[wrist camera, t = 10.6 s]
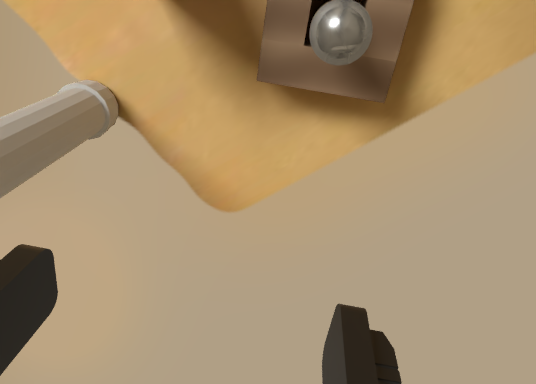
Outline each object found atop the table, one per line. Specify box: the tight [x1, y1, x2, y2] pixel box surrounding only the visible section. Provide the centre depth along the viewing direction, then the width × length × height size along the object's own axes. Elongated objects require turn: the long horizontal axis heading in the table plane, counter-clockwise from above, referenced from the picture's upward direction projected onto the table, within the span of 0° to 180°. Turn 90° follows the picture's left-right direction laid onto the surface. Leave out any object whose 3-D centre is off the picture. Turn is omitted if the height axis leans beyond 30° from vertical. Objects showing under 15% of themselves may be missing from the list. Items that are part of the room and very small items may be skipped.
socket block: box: [257, 0, 414, 103], centre depth 33 cm, size 11×11×4 cm
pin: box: [309, 0, 373, 65], centre depth 30 cm, size 4×4×12 cm
